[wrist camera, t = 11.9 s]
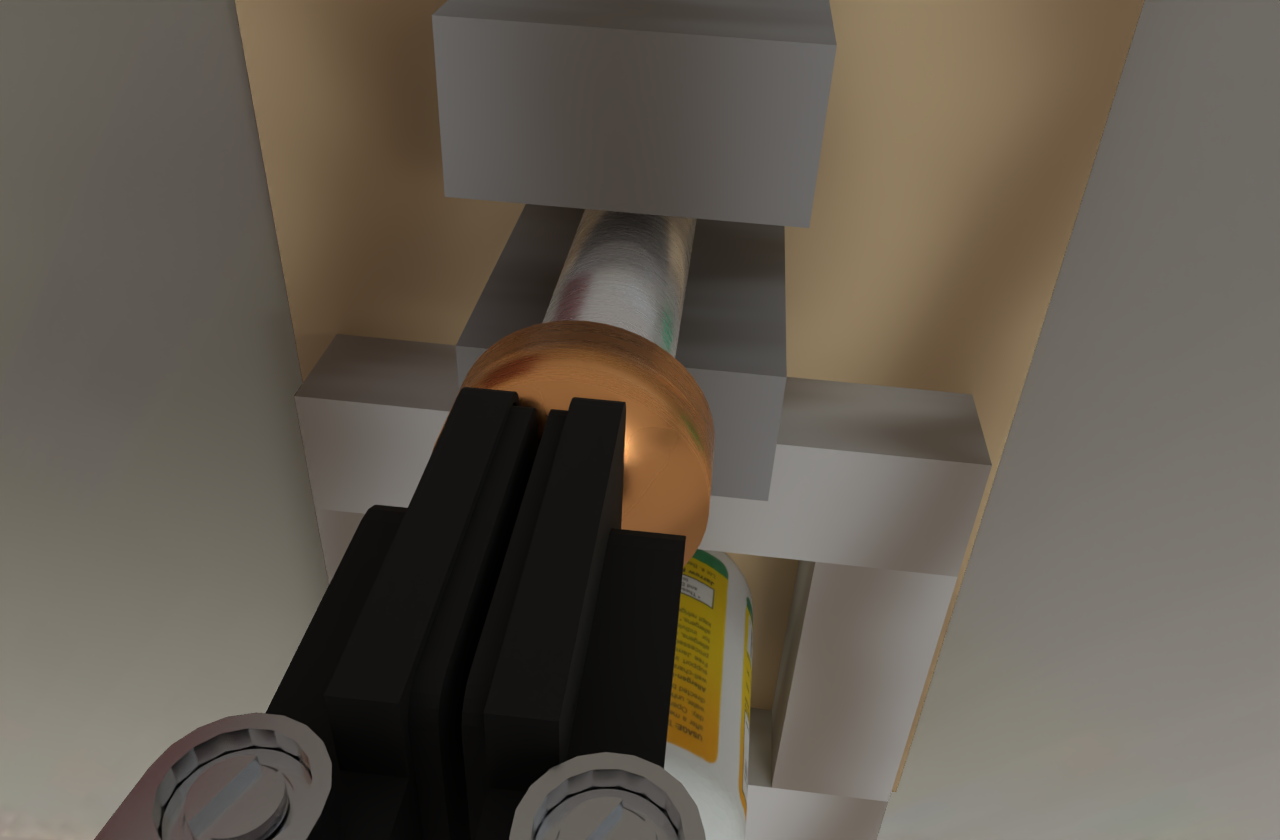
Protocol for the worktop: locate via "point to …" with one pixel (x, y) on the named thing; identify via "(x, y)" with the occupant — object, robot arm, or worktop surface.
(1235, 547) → the worktop surface
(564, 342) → the pin
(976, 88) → the dock
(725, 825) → the supplement bottle
